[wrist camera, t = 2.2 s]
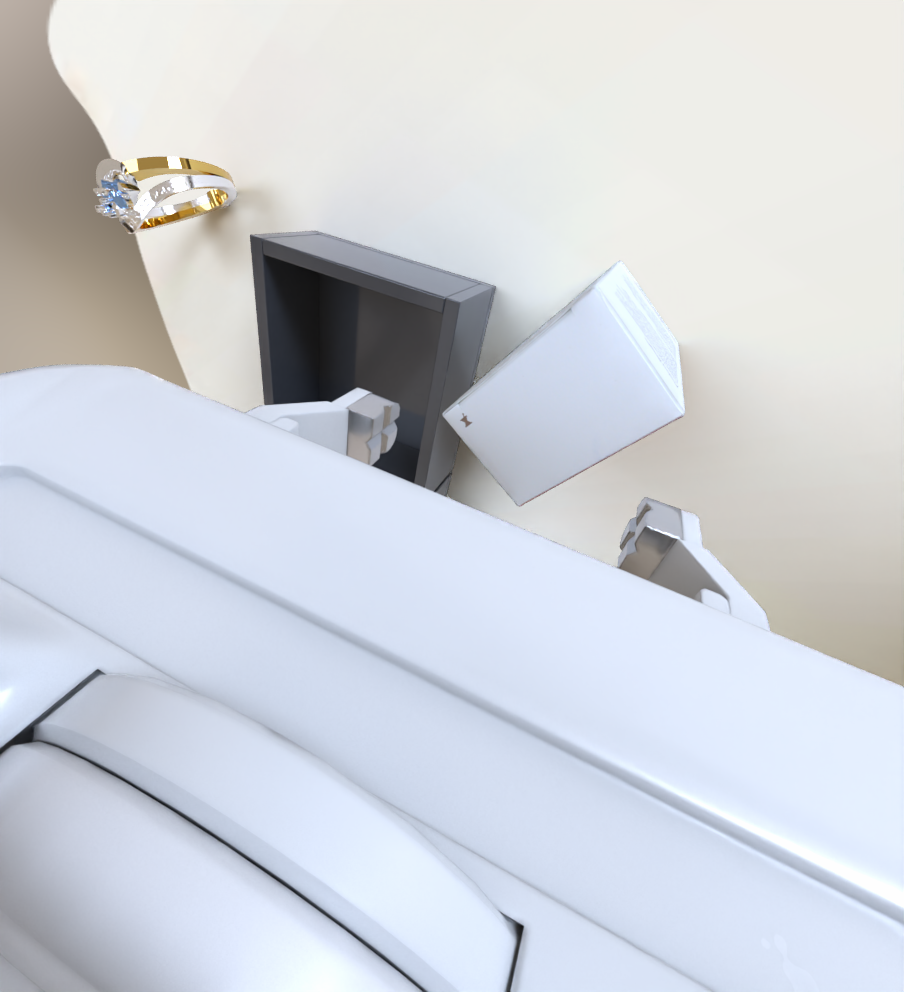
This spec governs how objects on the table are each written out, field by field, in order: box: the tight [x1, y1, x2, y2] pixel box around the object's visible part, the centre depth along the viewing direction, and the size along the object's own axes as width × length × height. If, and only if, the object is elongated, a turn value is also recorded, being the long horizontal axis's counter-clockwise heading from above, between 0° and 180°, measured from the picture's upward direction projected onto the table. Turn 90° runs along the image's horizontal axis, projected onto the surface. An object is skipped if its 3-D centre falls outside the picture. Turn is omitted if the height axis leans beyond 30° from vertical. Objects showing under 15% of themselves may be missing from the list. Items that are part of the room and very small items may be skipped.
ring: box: [93, 157, 237, 234], centre depth 26 cm, size 7×3×8 cm, turn 103°
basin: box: [250, 231, 496, 492], centre depth 28 cm, size 13×13×6 cm
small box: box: [442, 261, 685, 506], centre depth 21 cm, size 8×6×10 cm
